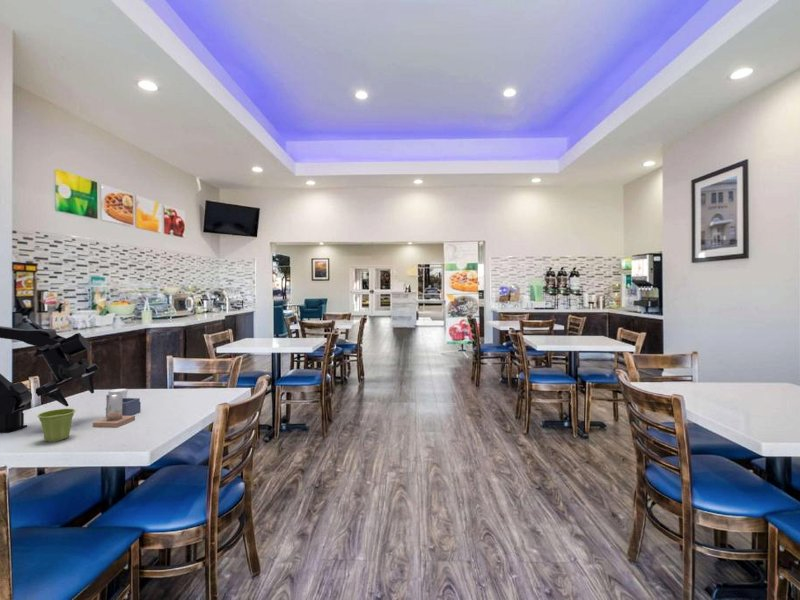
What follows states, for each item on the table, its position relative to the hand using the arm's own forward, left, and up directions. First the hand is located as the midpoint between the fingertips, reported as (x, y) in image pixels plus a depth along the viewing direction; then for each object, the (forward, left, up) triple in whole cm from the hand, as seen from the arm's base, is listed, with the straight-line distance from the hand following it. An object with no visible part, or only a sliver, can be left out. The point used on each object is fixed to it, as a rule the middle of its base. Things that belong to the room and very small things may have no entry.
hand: (80, 399), depth 149 cm
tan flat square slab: (+1, -12, -9) cm, 15 cm away
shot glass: (+23, +4, -9) cm, 25 cm away
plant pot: (-16, -6, -9) cm, 20 cm away
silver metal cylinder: (+1, -12, -7) cm, 14 cm away
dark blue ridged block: (+12, -7, -9) cm, 16 cm away
